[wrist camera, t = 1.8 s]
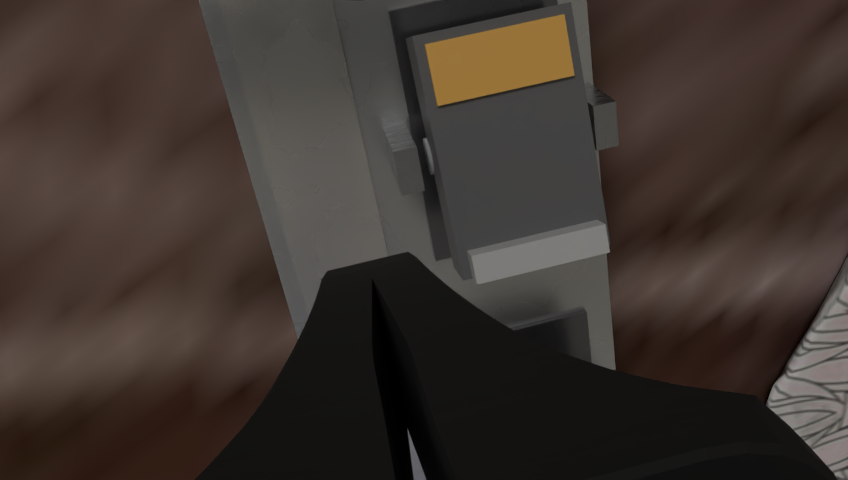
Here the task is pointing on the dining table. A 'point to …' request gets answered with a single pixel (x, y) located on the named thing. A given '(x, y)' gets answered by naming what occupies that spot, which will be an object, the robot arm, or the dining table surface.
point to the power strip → (380, 155)
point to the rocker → (510, 143)
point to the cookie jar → (820, 382)
